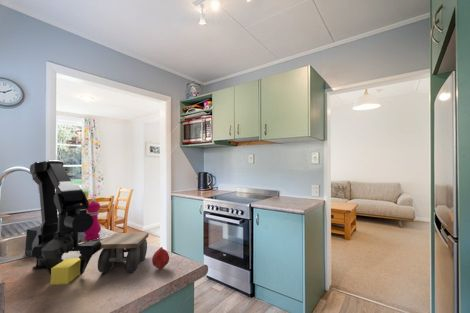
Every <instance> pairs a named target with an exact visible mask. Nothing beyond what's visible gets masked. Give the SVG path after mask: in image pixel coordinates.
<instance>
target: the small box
mask: <svg viewBox="0 0 470 313" xmlns="http://www.w3.org/2000/svg"><path fill="white" fill-rule="evenodd" d="M40 226H41V225H38V226H34V227H30V228H26V229H25V230H26V232H25V233H26V234H25V235H26V236H25V249H24V250H25V252H24V255H25V254H27V256H31V251H32V243H33V241H34V239H35V237H36V235H37V230H38V229H39V227H40Z"/></svg>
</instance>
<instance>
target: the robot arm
mask: <svg viewBox="0 0 470 313" xmlns="http://www.w3.org/2000/svg"><path fill="white" fill-rule="evenodd" d="M29 173H30V175H31V177H32V181H33V182H35V183H36V184H37V186H38V193H39V203H40V204H39V205H40V214H41V216H40V217H41V224H40V225H39V226H40V227H39V229H38V230H37V235H36V237H35V239H34V241H33V243H32V251H31V255H30V257H32V258H35V259H36V264H35V265H34V266H32V270H43V269H45V270H46V269H47V272H48V274H49V275H50V277H51V268H53V267H54V266H56V265H58V264H59V263H61V262H62V261H64V259H63V258H62V257H63V255H64V254H68V253H70V252H79V256H78V258H80V260H81V262H80V274H79V276H82V275H83V274H84V273H85V270H86V268H87V267H88V265H89V262H90V260H91V259H92V258H93V255H95V254H97V253H98V252H99V251H100V250H102V249H101V242H102V241H100V240H93V241H86V243H84V244H81V243H82V239H80V233H84V232H85V231H87V230H88V229H90V228H91V226H92V224H93V218H92V216H91V215H90V214H87V212H88V211H87V210H86V209H88V208H89V207H88V204H89V203H90V202H89V201H88V198H87V195H86V194H85V191H83V189H82V187H80V185H78V184H76V183H74V182H73V181H72V180H71V178H70V176H69V173H67V170H66V169H65V167H64V162H63V161H62V160H60V159H59V160H58V159H57V160H54V159H47V160H44V161H34V162H33V163H32V164H30V166H29Z"/></svg>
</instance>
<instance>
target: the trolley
mask: <svg viewBox="0 0 470 313" xmlns="http://www.w3.org/2000/svg"><path fill="white" fill-rule="evenodd" d="M148 237H149V232H116V233H113V234H112V235H110V236H109V237H107V238H106V239H104V240H103V241H100V242H101V249H100V250H101V252H100V254H99V256H98V259H97V270H98V273H110V272H111V270H112V268H113V267H114V263H119V262H125V269H126V272H136V271H137V270H138V268H139V264H140V262H143V261H144V260H145V258H146V256H147V252H148V242H147V241H148V240H147V238H148ZM125 253H127V255H126V256H125Z"/></svg>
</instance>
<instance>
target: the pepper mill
mask: <svg viewBox="0 0 470 313" xmlns="http://www.w3.org/2000/svg"><path fill="white" fill-rule="evenodd" d="M88 207H89V208H88V209H86V210H87V214H90V215H91V216H92V218H93V224H92V226H91V228H90V229H88V230H87V231H85V232H83V234H84V241H85V242H89V241H90V240H93V241H95V240H94V239H97V238H99V237H100V236H101V235H100V234H99V233H101V230H102V226H101V224H100V222H99V218H98V216H99V213H100V211H99V210H100V208H101V204H100V202H97V201H96V199H95V198H92V199H91V201H90V202H89V204H88ZM99 239H100V238H99ZM97 240H98V239H97Z"/></svg>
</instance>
